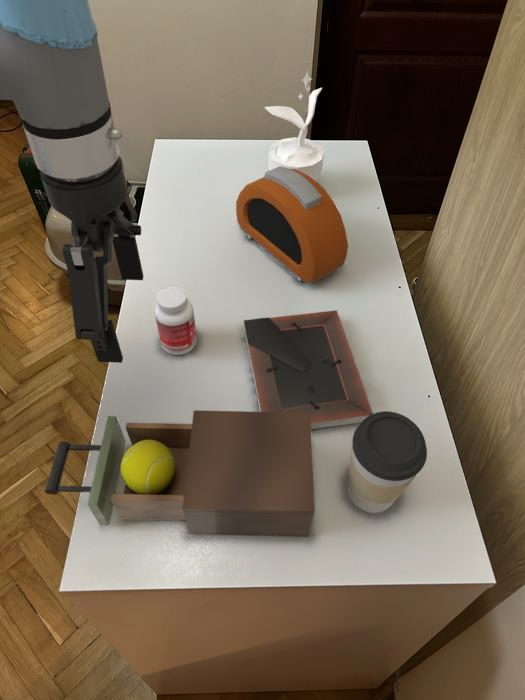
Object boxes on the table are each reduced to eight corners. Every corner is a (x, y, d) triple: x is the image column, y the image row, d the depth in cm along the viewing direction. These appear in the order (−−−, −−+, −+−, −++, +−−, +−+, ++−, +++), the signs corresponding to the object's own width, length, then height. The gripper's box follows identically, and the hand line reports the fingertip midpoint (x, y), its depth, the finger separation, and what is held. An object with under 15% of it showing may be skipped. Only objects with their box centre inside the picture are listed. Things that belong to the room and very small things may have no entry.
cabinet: (189, 534, 70) (182, 508, 63) (198, 441, 79) (193, 410, 72) (308, 537, 70) (314, 511, 63) (305, 444, 79) (310, 412, 72)
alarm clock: (234, 230, 110) (232, 156, 96) (268, 213, 113) (270, 140, 100) (310, 294, 98) (319, 220, 85) (345, 273, 102) (359, 200, 89)
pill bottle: (199, 352, 89) (194, 307, 81) (163, 359, 88) (153, 314, 80) (194, 325, 93) (188, 280, 84) (159, 331, 92) (149, 285, 83)
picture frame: (243, 329, 93) (264, 437, 79) (243, 319, 91) (264, 428, 77) (335, 318, 95) (370, 422, 81) (337, 309, 93) (373, 413, 79)
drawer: (48, 524, 70) (31, 503, 64) (71, 439, 78) (57, 414, 72) (210, 527, 70) (207, 507, 64) (217, 442, 78) (214, 418, 72)
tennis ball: (115, 483, 72) (104, 459, 67) (151, 446, 76) (144, 421, 70) (152, 513, 70) (144, 491, 64) (188, 474, 73) (183, 450, 68)
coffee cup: (405, 466, 77) (432, 411, 65) (402, 527, 71) (432, 478, 59) (343, 454, 78) (359, 398, 66) (335, 513, 72) (351, 462, 61)
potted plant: (317, 176, 122) (329, 63, 102) (321, 207, 115) (335, 91, 95) (262, 176, 122) (264, 62, 102) (263, 207, 114) (265, 91, 95)
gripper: (88, 252, 41) (134, 402, 58) (144, 97, 57) (167, 250, 73) (-9, 249, 41) (65, 399, 58) (74, 95, 57) (113, 248, 73)
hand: (122, 316), depth 66 cm, fingers open, 13 cm apart
